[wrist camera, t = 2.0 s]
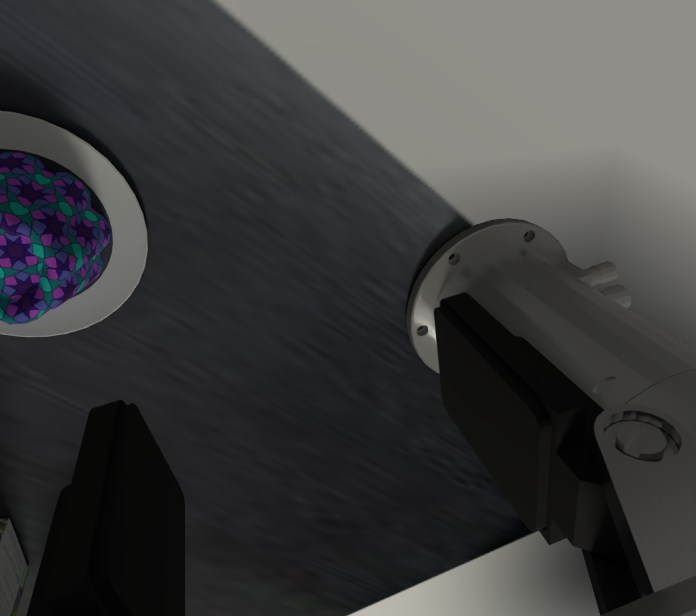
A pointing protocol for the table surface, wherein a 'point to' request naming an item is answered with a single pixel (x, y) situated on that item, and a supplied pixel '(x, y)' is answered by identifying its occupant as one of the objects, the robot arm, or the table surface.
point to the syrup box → (10, 569)
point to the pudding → (62, 232)
